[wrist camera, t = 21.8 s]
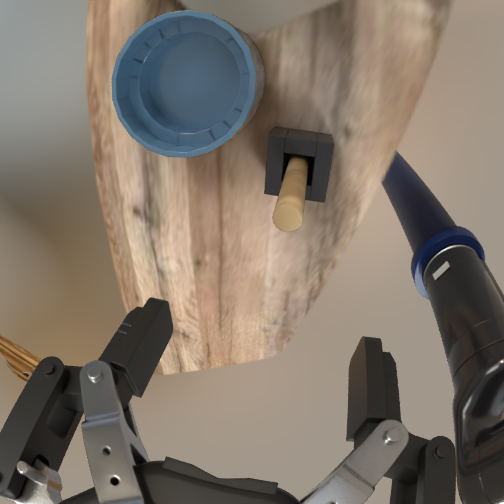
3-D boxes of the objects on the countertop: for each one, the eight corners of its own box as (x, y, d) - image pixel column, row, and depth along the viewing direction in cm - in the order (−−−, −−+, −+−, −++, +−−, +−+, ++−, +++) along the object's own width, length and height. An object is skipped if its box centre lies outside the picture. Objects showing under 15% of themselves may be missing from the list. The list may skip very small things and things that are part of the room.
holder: (331, 134, 30) (334, 144, 26) (324, 186, 33) (324, 202, 30) (274, 126, 31) (268, 135, 27) (270, 179, 34) (264, 194, 31)
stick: (309, 149, 31) (304, 207, 19) (307, 166, 33) (300, 234, 20) (291, 146, 32) (273, 203, 20) (290, 163, 33) (271, 229, 21)
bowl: (269, 17, 24) (260, 6, 19) (261, 148, 32) (251, 163, 28) (138, 26, 26) (111, 23, 21) (140, 142, 35) (116, 155, 30)
